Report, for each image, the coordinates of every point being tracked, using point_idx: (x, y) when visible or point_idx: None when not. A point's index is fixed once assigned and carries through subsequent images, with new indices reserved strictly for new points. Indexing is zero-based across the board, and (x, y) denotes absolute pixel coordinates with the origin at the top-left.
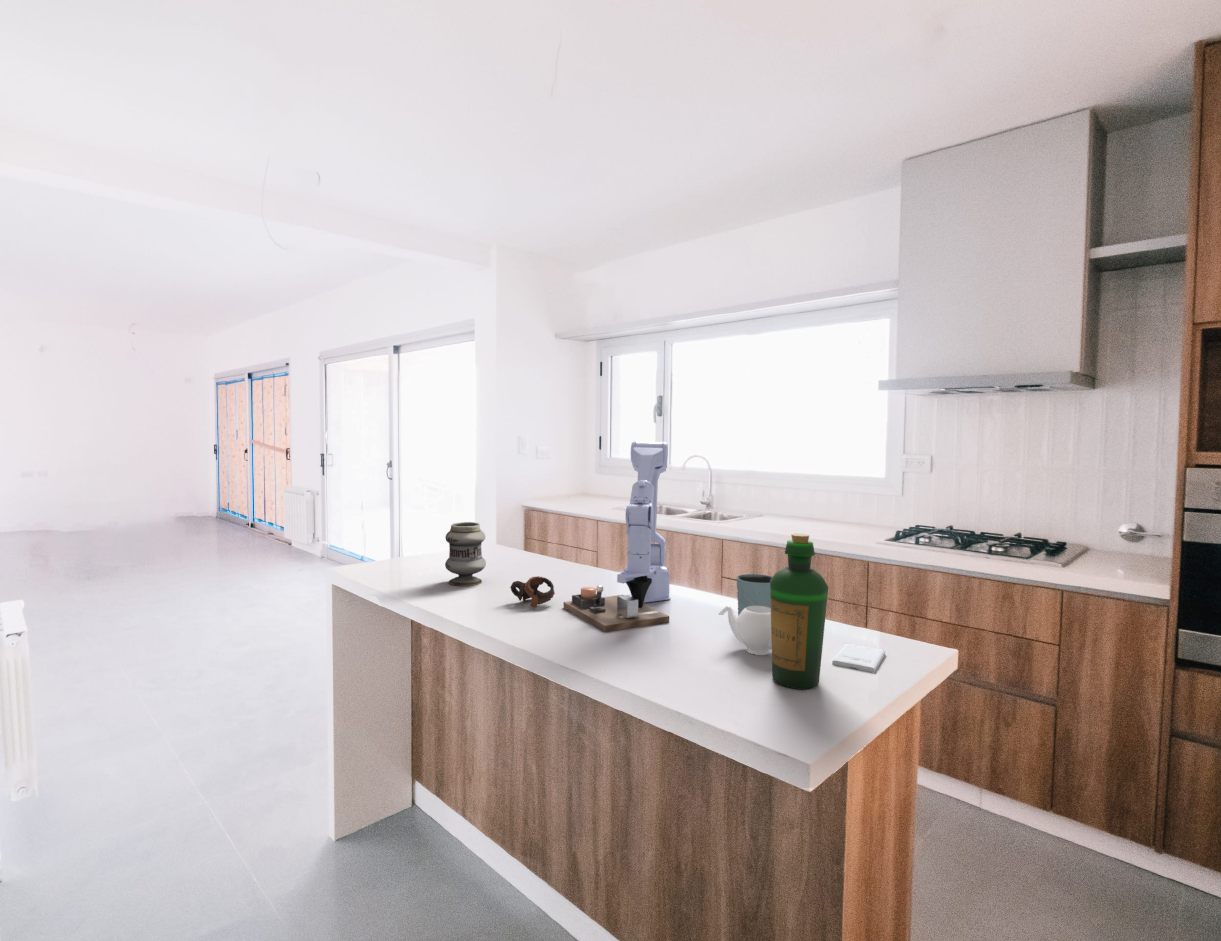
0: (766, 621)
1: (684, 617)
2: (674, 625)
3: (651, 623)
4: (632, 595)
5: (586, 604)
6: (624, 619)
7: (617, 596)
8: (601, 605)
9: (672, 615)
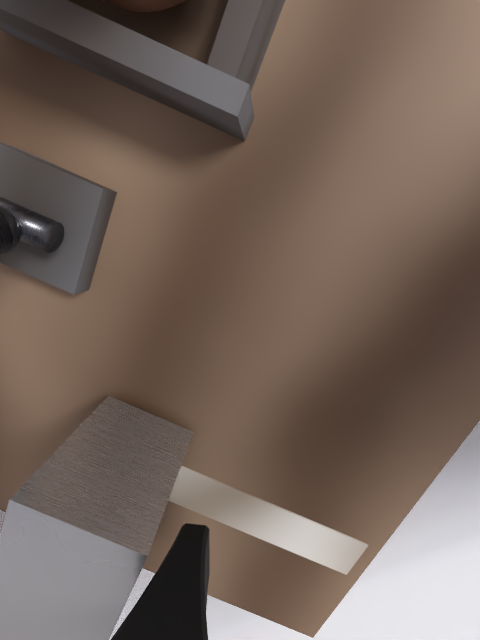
0: None
1: (448, 620)
2: (275, 630)
3: None
4: (128, 628)
5: (29, 35)
6: None
7: (12, 498)
8: (50, 251)
9: (449, 563)
